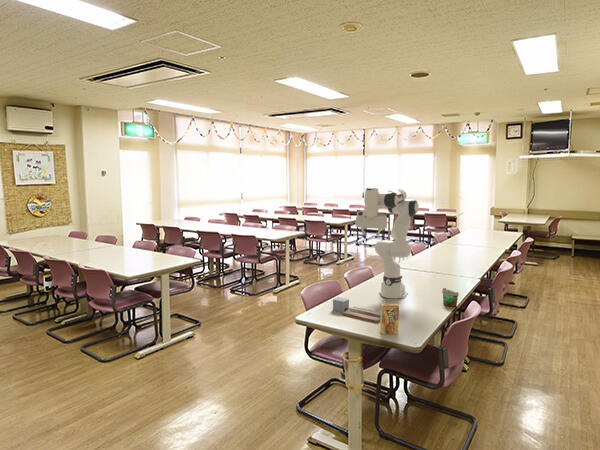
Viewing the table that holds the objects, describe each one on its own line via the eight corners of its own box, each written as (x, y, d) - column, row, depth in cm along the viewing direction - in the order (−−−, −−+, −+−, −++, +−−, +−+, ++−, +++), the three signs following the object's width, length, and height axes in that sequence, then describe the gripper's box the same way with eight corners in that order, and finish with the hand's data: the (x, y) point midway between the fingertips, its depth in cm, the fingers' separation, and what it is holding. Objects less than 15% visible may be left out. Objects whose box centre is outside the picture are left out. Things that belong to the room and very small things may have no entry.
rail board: (354, 308, 247) (354, 304, 246) (387, 316, 233) (388, 311, 232) (342, 314, 236) (342, 310, 235) (377, 323, 222) (377, 318, 221)
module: (337, 307, 249) (337, 296, 249) (348, 310, 244) (349, 299, 244) (332, 310, 245) (332, 299, 244) (343, 312, 240) (343, 301, 239)
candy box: (396, 331, 210) (396, 303, 208) (398, 334, 206) (399, 306, 204) (379, 331, 209) (380, 303, 208) (381, 334, 205) (382, 306, 203)
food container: (437, 303, 258) (437, 288, 257) (444, 302, 261) (445, 287, 259) (450, 308, 247) (451, 293, 246) (458, 307, 249) (458, 292, 248)
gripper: (389, 213, 241) (388, 235, 242) (358, 212, 252) (358, 233, 253) (385, 214, 235) (384, 236, 237) (354, 212, 247) (354, 234, 248)
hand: (370, 235), depth 245 cm, fingers open, 8 cm apart
